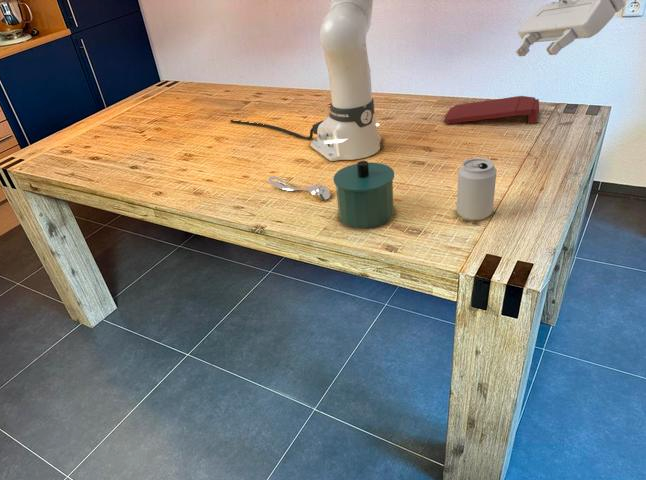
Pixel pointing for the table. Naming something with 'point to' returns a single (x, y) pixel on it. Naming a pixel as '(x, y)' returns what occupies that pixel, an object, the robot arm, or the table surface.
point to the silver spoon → (316, 190)
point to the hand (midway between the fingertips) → (534, 53)
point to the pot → (365, 207)
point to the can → (476, 188)
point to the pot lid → (363, 177)
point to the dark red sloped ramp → (495, 109)
